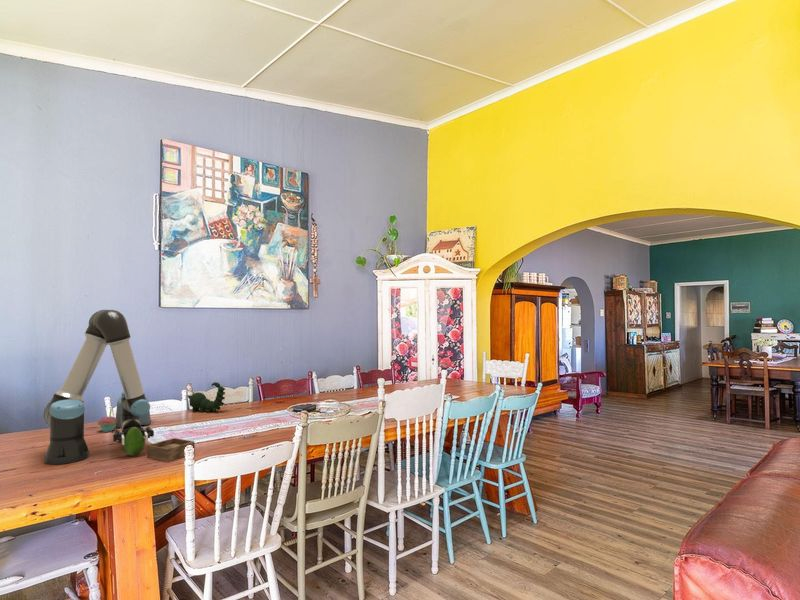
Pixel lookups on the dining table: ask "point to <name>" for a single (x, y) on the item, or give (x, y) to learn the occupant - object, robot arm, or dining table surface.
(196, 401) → the toy figurine
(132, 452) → the avocado
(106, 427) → the cupcake
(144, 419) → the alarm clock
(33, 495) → the dining table surface
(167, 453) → the walnut stand
